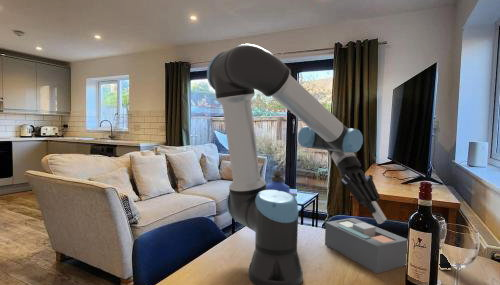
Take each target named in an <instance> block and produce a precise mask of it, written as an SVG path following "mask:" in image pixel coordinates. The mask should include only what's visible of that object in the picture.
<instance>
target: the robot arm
mask: <svg viewBox="0 0 500 285" xmlns="http://www.w3.org/2000/svg"><path fill="white" fill-rule="evenodd" d="M206 78H207V81H208V84H209V86H210V87H211V88H212V89H213V90H214V91H215V100H216V101H218V102H219V103H220V104H221V105H222V106H221V107H222V110H223V120H224V126H225V134H226V140H227V148H228V154H229V160H230V168H231V176H232V182H231V183H230V184H229V186H228V188H229V189H228V190H229V192H228V195H227V196H226V199H225V208H226V210H227V213H228V214H229V216H230V217H231V218H232V219H233V220H234V221H235V222H237V223H238V224H240V225H243V226H244V227H246V228H248V229H249V230H251V231H253V232H254V233H255V234H254V235H255V240H254V243H255V244H254V245H255V246H254V251H253V254H252V258H251V261H250V264H249V266H248V279H249V281H251V282H250V283H252V284H254V285H301V284H302V282H303V277H304V275H303V274H304V270H303V267H302V265H301V261H300V258H299V254H298V231H299V230H298V227H299V208H298V201H297V198H296V197H295V196H294V195H292V194H290V192H289V193H286V192H283V191H278V190H267V188H266V185H267V183H266V180H265V179H263V178H262V177H261V173H260V164H259V158H258V150H257V149H258V148H257V144H256V143H257V141H256V133H255V127H254V126H255V125H254V119H253V111H252V109H253V108H252V103H251V101H252V99H253V98H254V96H255V90H256V91H258V92H260V93H261V94H263V95H264V96H265V97H268V98H269V97H272V98H273V99H275V100H276V101H277V102H278V103H280V104H281V105H282V106H283V107H284V108H286V110H288V111H289V112H290V113H292V114H293V115H294V116H295V117H296V118H297V119H299V120H300V121H301V122H302V123H303V124H305V125H306V126H303V127H301V128H300V130H299V131H298V133H297V141H298V144H299V146H301V147H303V148H307V149H314V150H320V151H321V150H322V151H323V150H324V151H327V152H328V154H329V155H330V157H331V159H332V160H333V162H334V164H335V166H336V168H337V169H338V171H339V173H340V175H341V176H343V177H342V178H341V179H340V183H341V184H342V185H344V187H345V188H346V189H347V190H348V191H349V192H350V194H351V196H353V198H354V199H355V200H356V201H357V202H358V204H360V205H362V207H366V208H367V210H368V211H369V213H370V214H371V215H372V217H373V218H374V220H375V221H376V223H377V225H380V224H381V225H382V224H383V223H384V222H386V221H387V220H388V219H387V217H386V215H385V214H384V212H383V210H382V207H381V206H380V204H379V203H378V200H380V199H381V196H380V194H379V192H378V189H377V187H376V185H375V182H374V178H373V175H371V174H369V175H367V174H366V173H365V171H364V170H363V169H362V164H361V162H360V160H359V159H358V157H357V156H356V154H355V153H357V152H358V151H360V149H361V148H362V146H363V143H364V142H363V141H364V137H363V134H362V132H361V131H360V130H359V129H357V128H352V127H350V128H348V127H347V126H346V125H345V124H343V122H341V121H340V120H339V119H338V118H337V117H336V116H334V114H333V113H332V112H330V111H329V110H328V109H327V108H326V107H325V106H324V105H323V104H322V103H321V102H320V101H319V100H318V99H317V98H315V96H314V95H313V94H312V93H310V92H309V90H307V89H306V88H305V87H304V85H302V84H301V83H300V82H299V81H297V80H296V79H295V78H294V77H293V76H292V75H291V69H290V68H289V67H288V66H287V65H286V64H285V63H284V62H283V61H282V60H281V59H280V58H278V57H277V56H276V55H275V54H273V53H271V52H270V51H269V50H267V49H265V48H263V47H261V46H259V45H256V44H251V43H245V44H244V43H243V44H240V45H237V46H235V47H233V48H230V49H228V50H226V51H222V52H220V53H218V54H217V55H216V56H214V57H213V58H212V59H211V60H210V61H209V63H208V66H207V68H206Z"/></svg>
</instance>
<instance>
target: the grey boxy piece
mask: <svg viewBox="0 0 500 285" xmlns="http://www.w3.org/2000/svg"><path fill="white" fill-rule="evenodd" d="M345 221H349V222H351V223H354V224H357V223H362V222H364V221H362V220H360V219H357V218H355V217H350V218H343V219H338V220H337V219H336V220H331V221H325V230H324V231H325V232H324V233H325V234H324V235H325V236H324V244H325V245H326V246H327V247H329V248H331V249H332V250H335V251H336V252H338V253H340V254H342V255H344V256H345V257H347V258H348V259H351V260H352V261H353V262H356V263H357V264H358V265H360V266H363V267H365V269H368V270H370V271H371V272H373V273H375V274H380V273H385V272H388V271H390V270H395V269H398V268H401V267H406V266H405V264H406V254H407V237H403V236H400V235H398V234H395V233H393V232H391V231H390V232H389V231H388V230H385V229H382V228H380V227H378V226H375V227H376V230H375V237H376V236H380V235H382V236H385V237H387V238H389V239H392V240H394V241H391V242H386V243H382V242H380V241H378V240H376V239H373V238H371V237H369V236H367V235H364V234H362V233H360V232H358V231H355V230H353V229H351V228H349V227H346V226H344V225H342V224H340V223H339V222H345ZM366 223H367V224H369V223H368V222H366ZM371 225H372V226H374V225H373V224H371Z"/></svg>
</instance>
